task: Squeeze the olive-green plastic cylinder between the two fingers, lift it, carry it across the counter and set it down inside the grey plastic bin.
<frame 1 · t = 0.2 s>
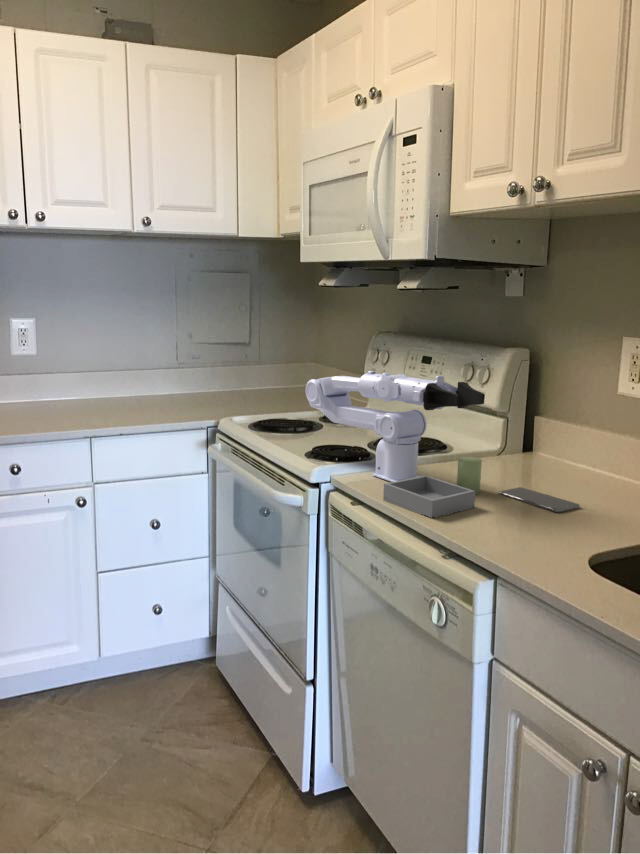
hand: (470, 399, 148), 21 cm above the worktop, tool horizontal, fingers open, 7 cm apart
green cylinder: (468, 490, 159), on the worktop
smartphone: (537, 503, 153), on the worktop
grey bin: (428, 503, 150), on the worktop
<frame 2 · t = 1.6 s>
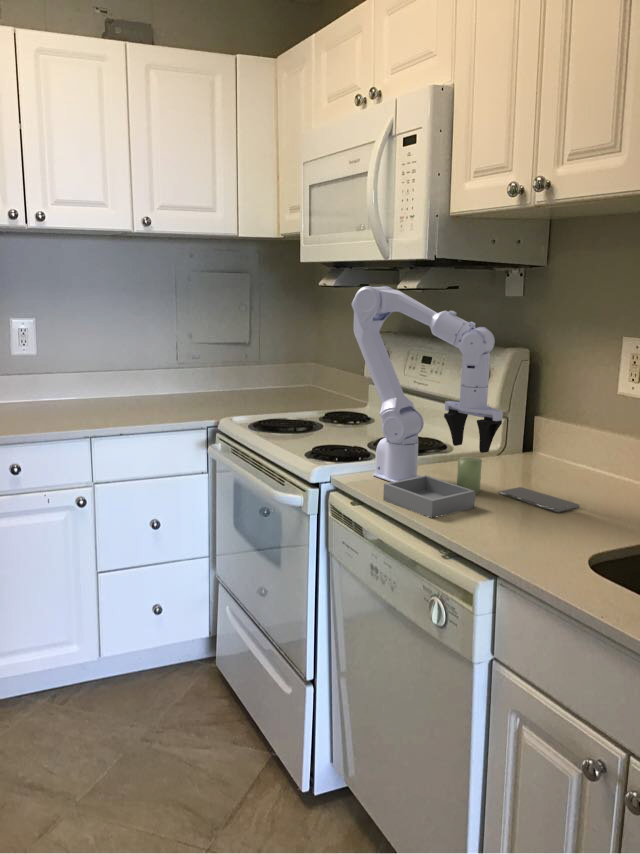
hand: (470, 448, 157), 9 cm above the worktop, tool pointing down, fingers open, 7 cm apart
nothing on the worktop moved.
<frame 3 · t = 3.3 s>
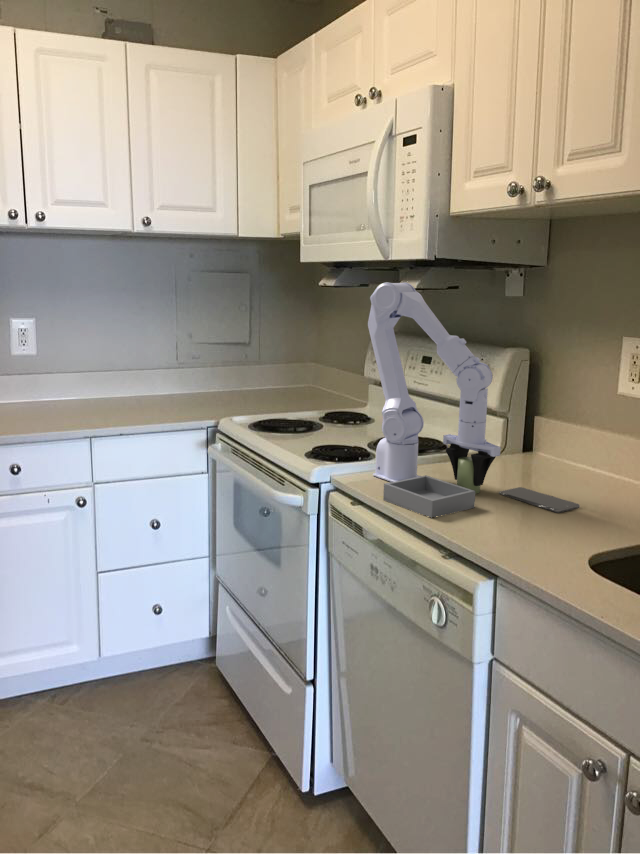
hand: (468, 482, 159), 2 cm above the worktop, tool pointing down, fingers closed on green cylinder, 5 cm apart
green cylinder: (468, 490, 159), on the worktop, touching gripper
everything else where it was.
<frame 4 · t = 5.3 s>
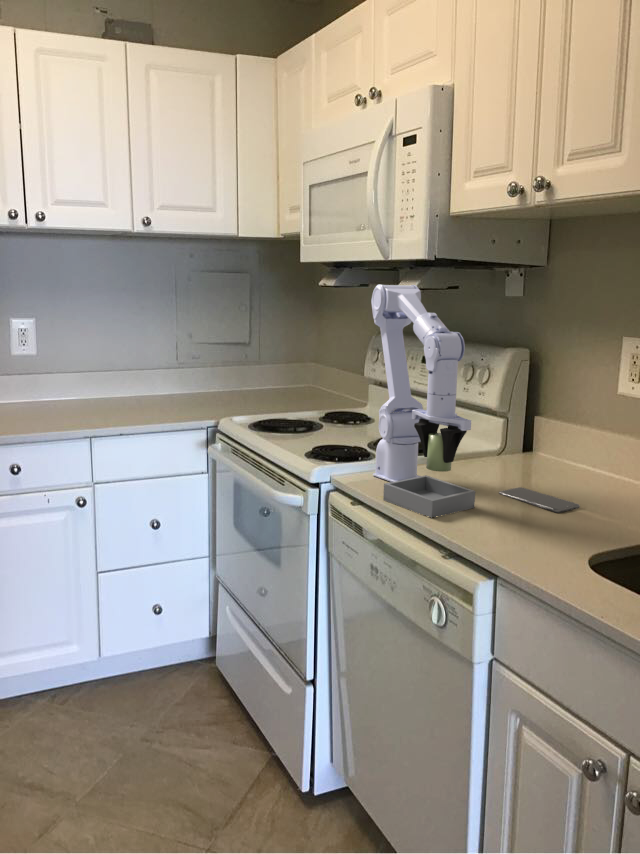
hand: (438, 459, 149), 9 cm above the worktop, tool pointing down, fingers closed on green cylinder, 5 cm apart
green cylinder: (438, 468, 150), point 7 cm above the worktop, touching gripper
everything else where it was.
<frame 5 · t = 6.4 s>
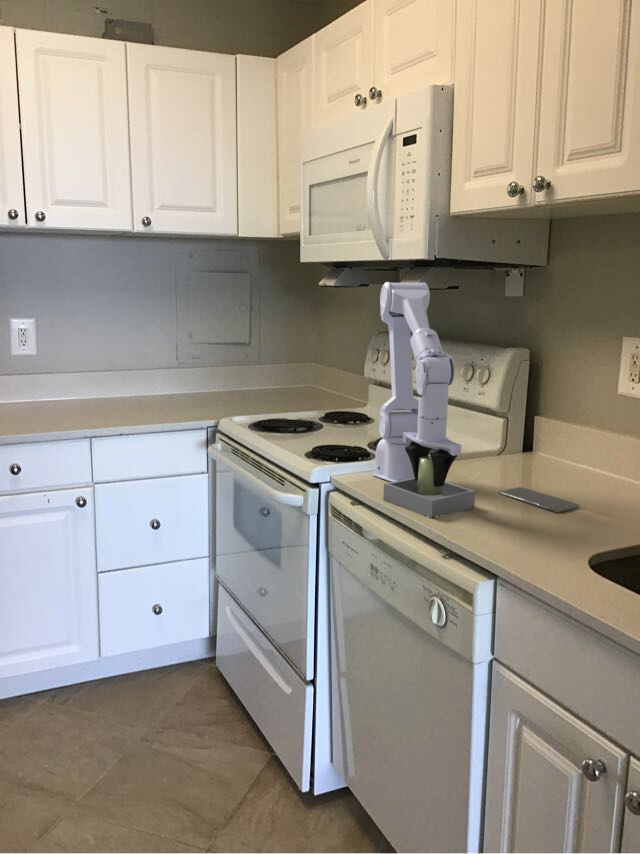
hand: (429, 482, 149), 4 cm above the worktop, tool pointing down, fingers closed on green cylinder, 5 cm apart
green cylinder: (429, 492, 149), point 2 cm above the worktop, touching gripper
everything else where it was.
when the fingers open (4 cm above the worktop, at t = 7.3 s): green cylinder drops 2 cm, resting on grey bin.
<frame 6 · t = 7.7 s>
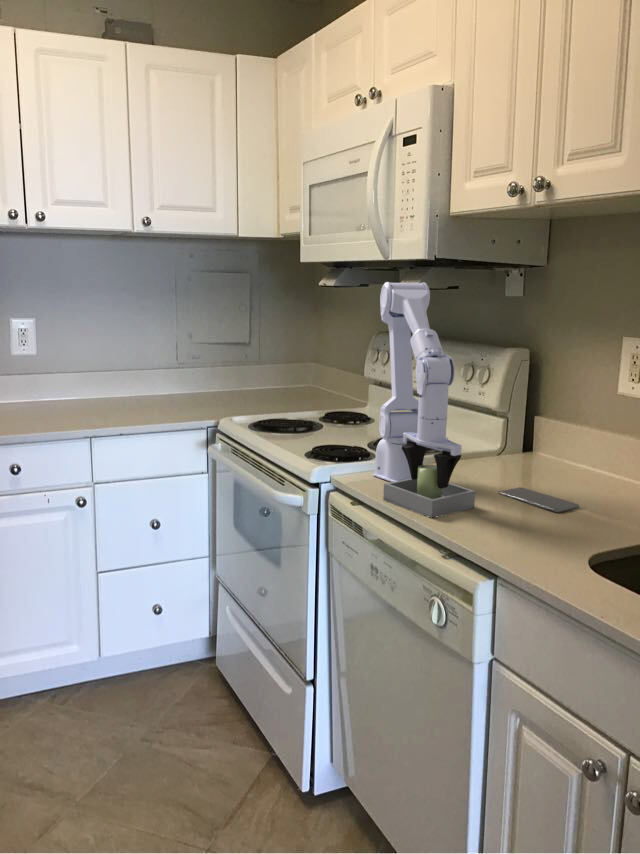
hand: (429, 483, 149), 4 cm above the worktop, tool pointing down, fingers open, 7 cm apart
green cylinder: (428, 500, 150), point 1 cm above the worktop, touching grey bin
everything else where it was.
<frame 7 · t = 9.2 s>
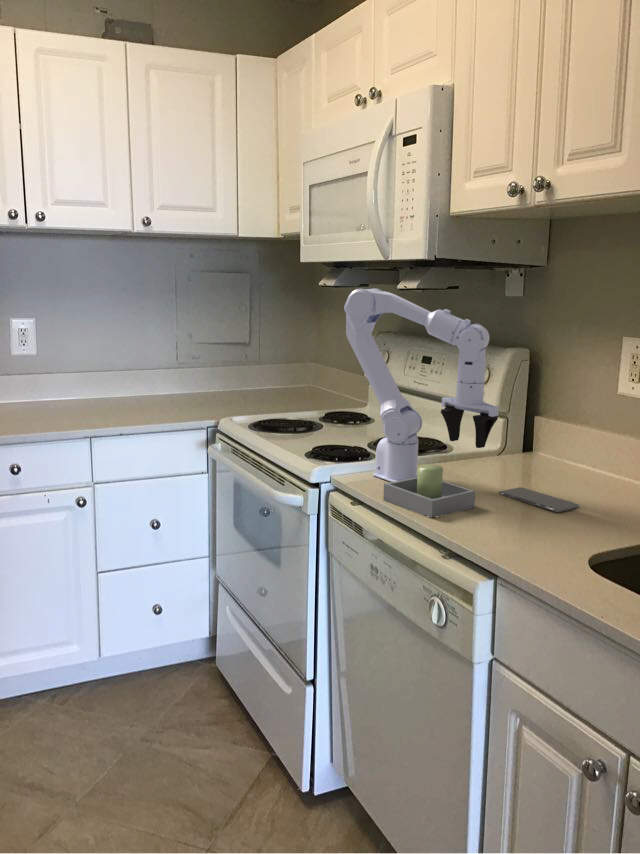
hand: (466, 443, 159), 10 cm above the worktop, tool pointing down, fingers open, 7 cm apart
nothing on the worktop moved.
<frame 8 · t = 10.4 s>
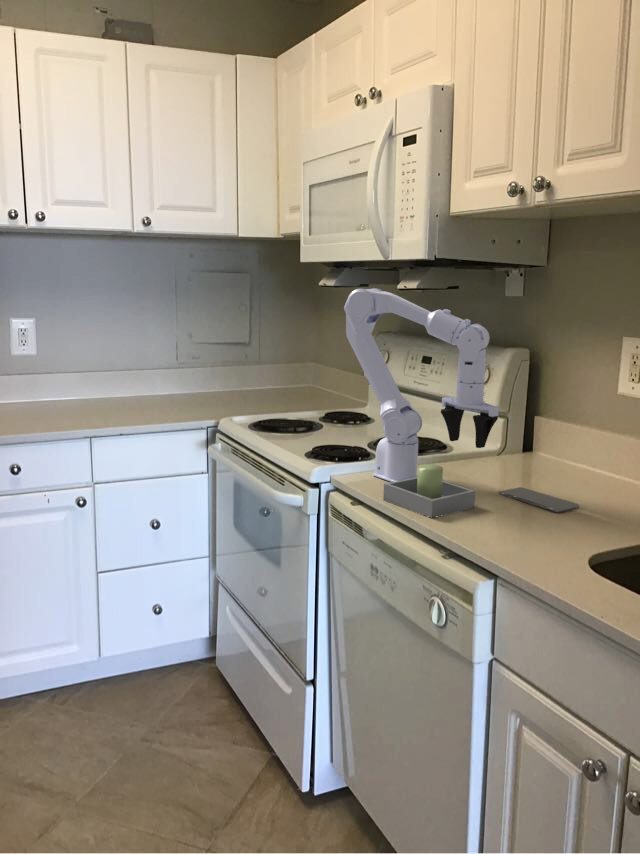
hand: (466, 443, 159), 10 cm above the worktop, tool pointing down, fingers open, 7 cm apart
nothing on the worktop moved.
at the end: green cylinder inside the target area on the grey bin (0.1 cm from its centre), point 0.6 cm above the grey bin's base; green cylinder tilted 0°; the gripper is holding nothing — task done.
